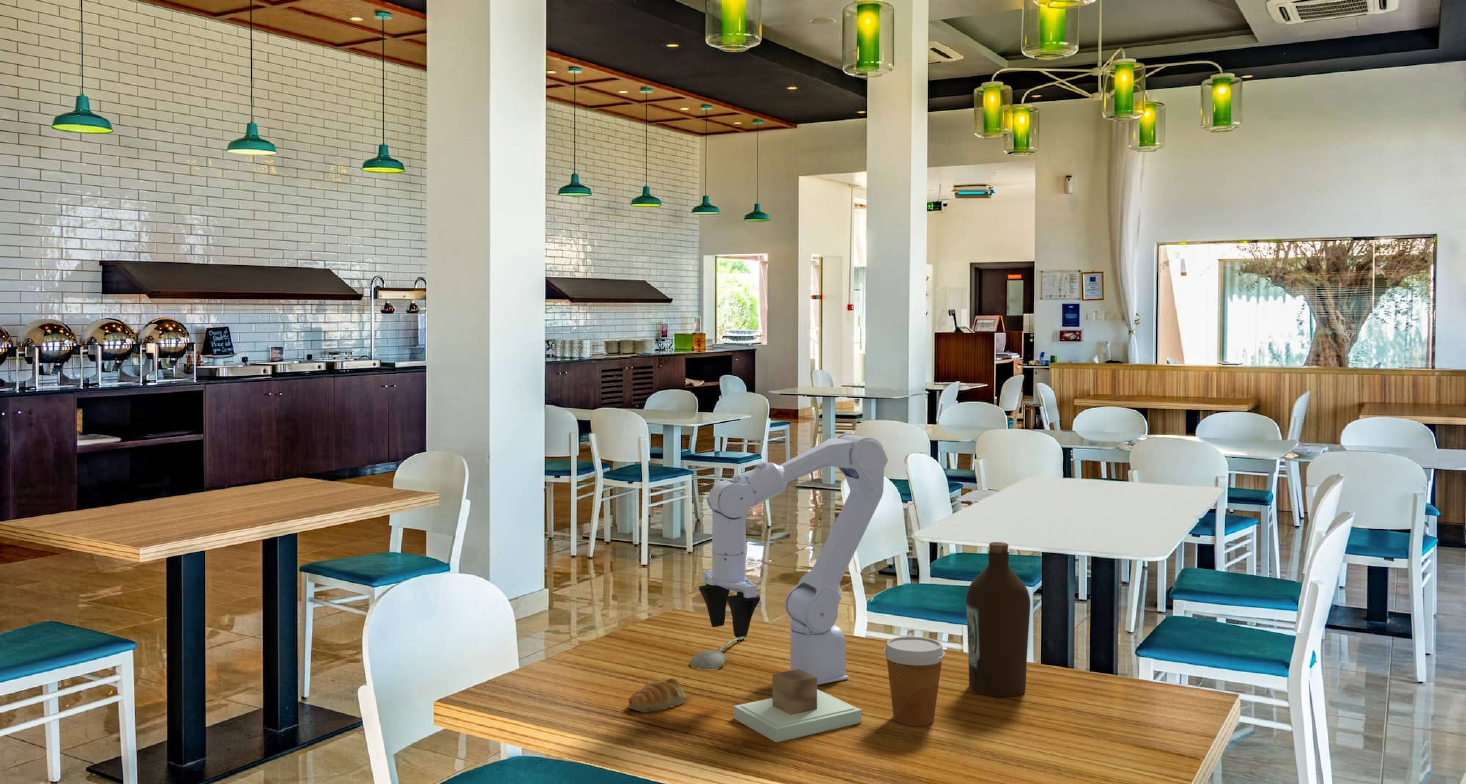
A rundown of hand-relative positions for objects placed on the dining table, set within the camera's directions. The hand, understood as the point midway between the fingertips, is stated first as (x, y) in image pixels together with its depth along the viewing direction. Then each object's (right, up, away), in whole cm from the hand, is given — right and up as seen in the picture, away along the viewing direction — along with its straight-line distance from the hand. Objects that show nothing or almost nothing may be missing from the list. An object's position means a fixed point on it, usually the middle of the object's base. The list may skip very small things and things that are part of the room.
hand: (729, 631), depth 183 cm
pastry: (-12, -11, -7) cm, 18 cm away
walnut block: (+10, -8, -16) cm, 21 cm away
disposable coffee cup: (+29, -11, -15) cm, 34 cm away
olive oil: (+46, -10, 0) cm, 47 cm away
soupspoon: (-1, -10, +21) cm, 23 cm away
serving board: (+11, -11, -15) cm, 21 cm away
